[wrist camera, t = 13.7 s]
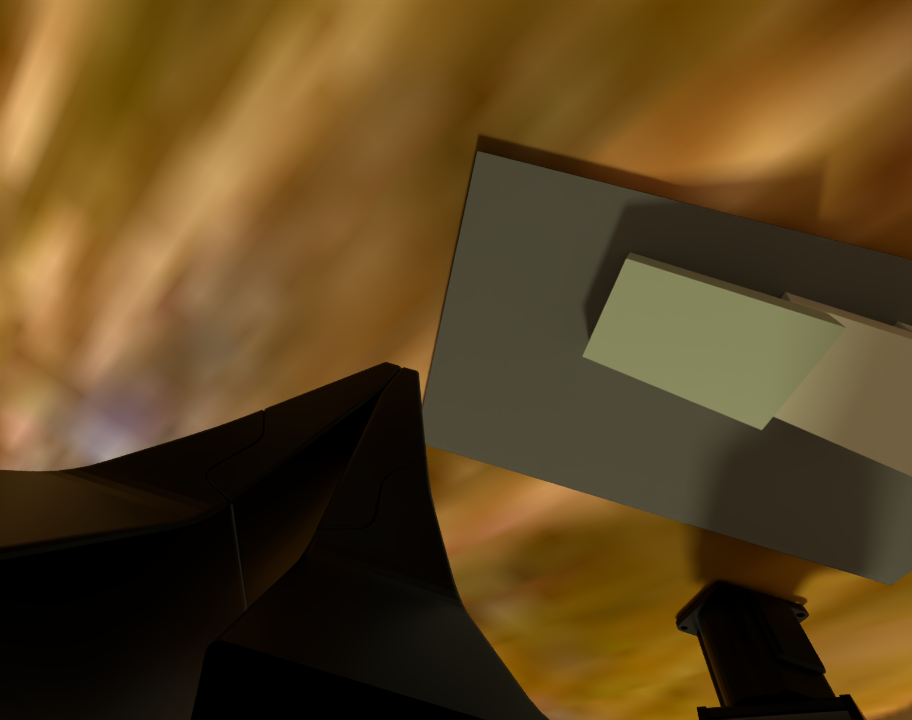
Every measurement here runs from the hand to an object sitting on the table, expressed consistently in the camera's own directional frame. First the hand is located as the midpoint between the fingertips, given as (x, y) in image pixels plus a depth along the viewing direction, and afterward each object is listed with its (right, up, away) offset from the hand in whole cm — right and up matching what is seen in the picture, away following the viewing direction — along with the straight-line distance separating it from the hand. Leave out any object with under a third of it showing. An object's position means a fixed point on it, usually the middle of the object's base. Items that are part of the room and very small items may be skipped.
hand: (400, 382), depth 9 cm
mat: (+16, -2, +12) cm, 20 cm away
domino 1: (+9, +3, +9) cm, 13 cm away
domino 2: (+16, +1, +9) cm, 18 cm away
